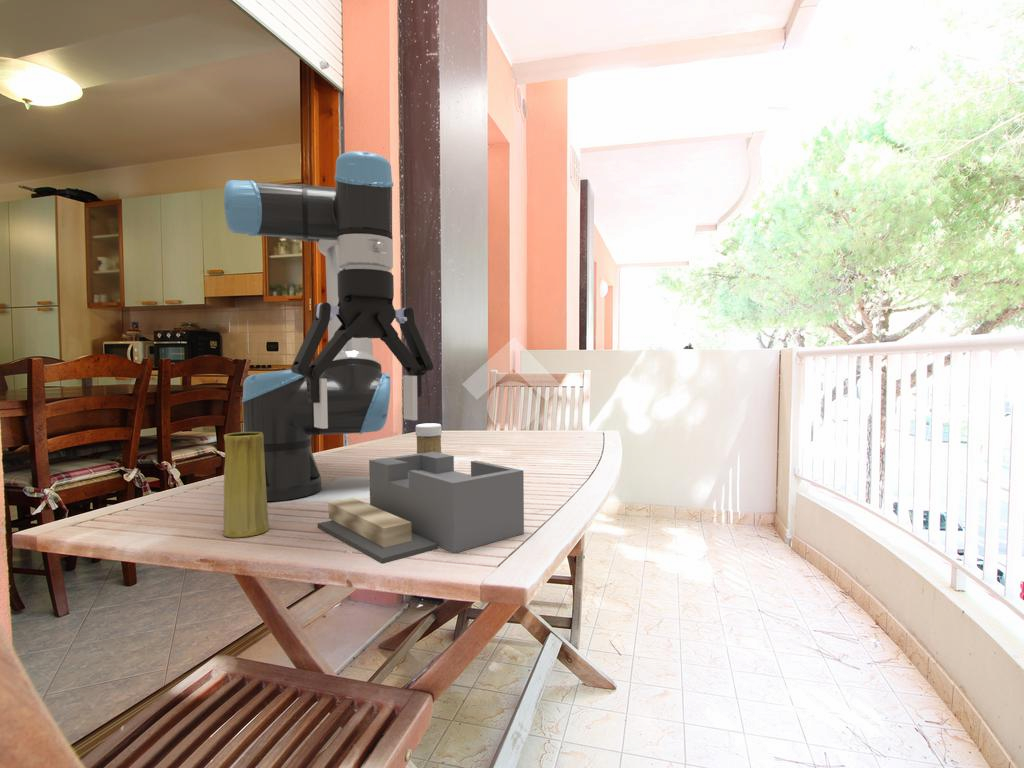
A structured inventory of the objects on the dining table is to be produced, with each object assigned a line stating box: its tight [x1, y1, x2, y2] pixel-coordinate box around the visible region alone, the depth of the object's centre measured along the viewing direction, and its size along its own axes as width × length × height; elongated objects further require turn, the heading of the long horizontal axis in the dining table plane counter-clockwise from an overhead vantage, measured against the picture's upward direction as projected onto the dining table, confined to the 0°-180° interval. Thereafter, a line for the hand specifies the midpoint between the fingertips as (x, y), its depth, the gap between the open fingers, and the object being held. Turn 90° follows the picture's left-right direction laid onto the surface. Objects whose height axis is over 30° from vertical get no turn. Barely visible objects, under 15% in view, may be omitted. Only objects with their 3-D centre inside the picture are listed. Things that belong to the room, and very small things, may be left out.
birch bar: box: [328, 497, 412, 548], centre depth 80 cm, size 18×4×2 cm, turn 40°
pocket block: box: [368, 452, 525, 554], centre depth 83 cm, size 23×12×9 cm, turn 41°
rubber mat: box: [317, 520, 439, 564], centre depth 78 cm, size 20×8×1 cm, turn 41°
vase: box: [222, 431, 270, 539], centre depth 81 cm, size 6×6×14 cm
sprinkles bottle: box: [415, 422, 443, 454], centre depth 99 cm, size 5×5×14 cm
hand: (368, 423), depth 78 cm, fingers open, 13 cm apart
